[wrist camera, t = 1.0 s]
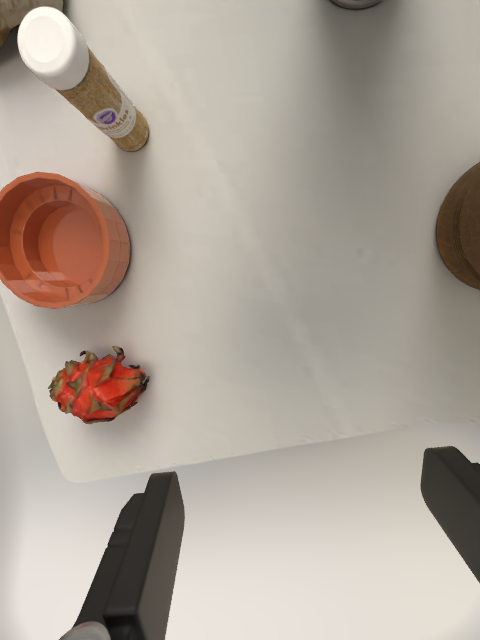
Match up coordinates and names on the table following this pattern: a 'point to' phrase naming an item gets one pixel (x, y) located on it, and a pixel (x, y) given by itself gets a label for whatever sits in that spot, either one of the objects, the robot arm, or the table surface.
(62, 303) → the bowl
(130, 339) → the table surface
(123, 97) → the sprinkles bottle
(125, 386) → the dragon fruit
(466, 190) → the wooden container
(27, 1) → the ceramic sculpture
